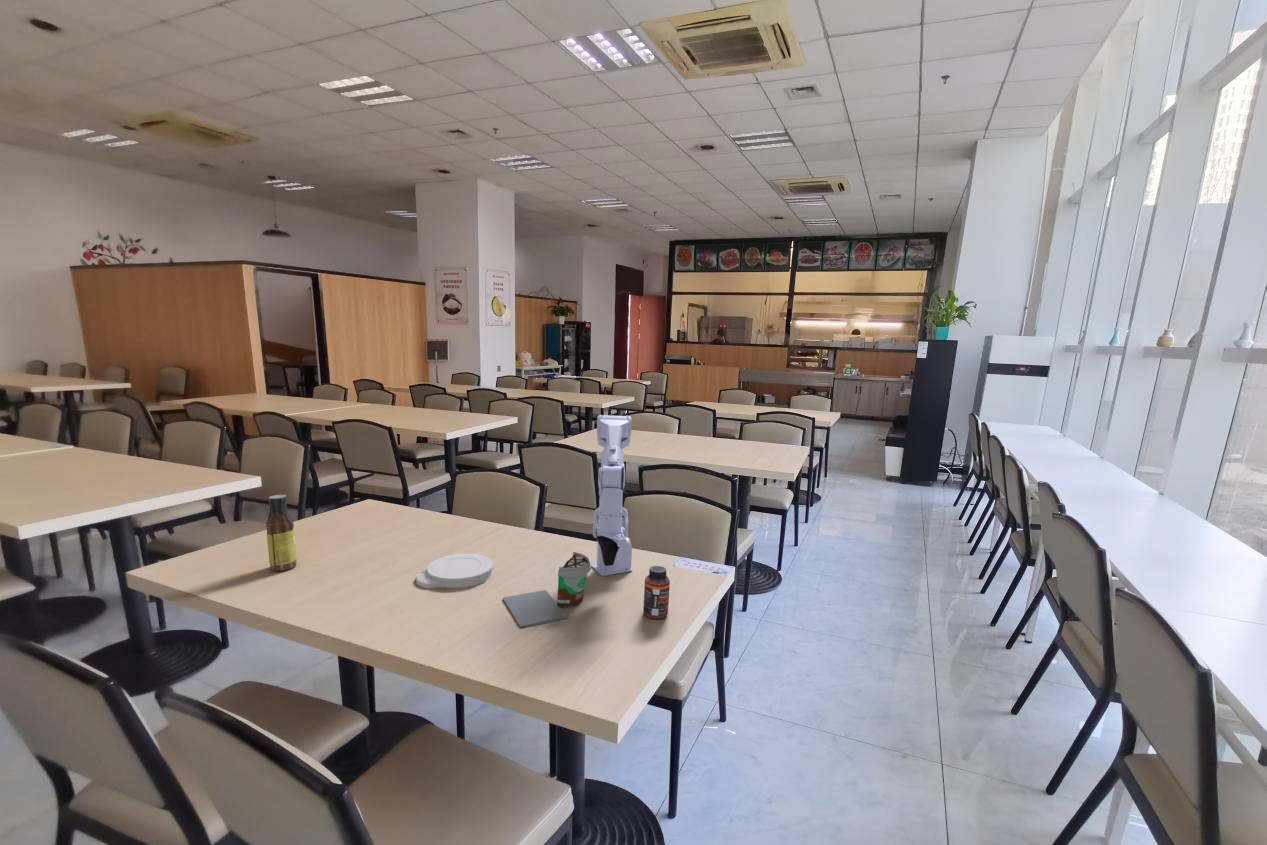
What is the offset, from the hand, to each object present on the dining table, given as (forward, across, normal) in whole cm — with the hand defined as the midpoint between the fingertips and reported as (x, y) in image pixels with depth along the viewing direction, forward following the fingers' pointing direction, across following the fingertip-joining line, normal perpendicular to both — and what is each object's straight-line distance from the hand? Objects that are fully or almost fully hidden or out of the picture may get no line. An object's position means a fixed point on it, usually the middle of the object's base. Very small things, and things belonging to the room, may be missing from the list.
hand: (608, 564), depth 139 cm
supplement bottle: (+8, -14, -6) cm, 17 cm away
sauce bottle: (+8, +49, +74) cm, 89 cm away
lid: (+8, +26, +33) cm, 43 cm away
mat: (+8, 0, +20) cm, 21 cm away
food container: (+8, 0, +9) cm, 12 cm away
